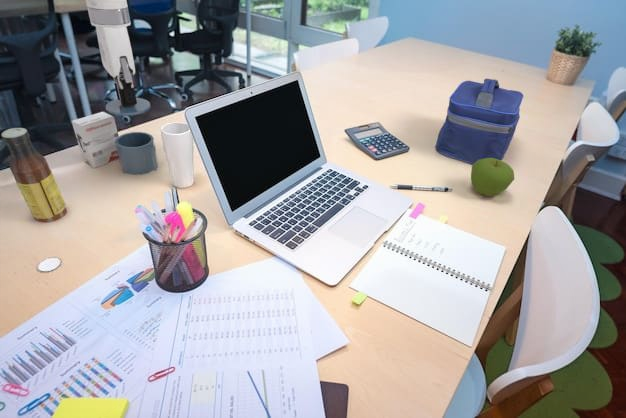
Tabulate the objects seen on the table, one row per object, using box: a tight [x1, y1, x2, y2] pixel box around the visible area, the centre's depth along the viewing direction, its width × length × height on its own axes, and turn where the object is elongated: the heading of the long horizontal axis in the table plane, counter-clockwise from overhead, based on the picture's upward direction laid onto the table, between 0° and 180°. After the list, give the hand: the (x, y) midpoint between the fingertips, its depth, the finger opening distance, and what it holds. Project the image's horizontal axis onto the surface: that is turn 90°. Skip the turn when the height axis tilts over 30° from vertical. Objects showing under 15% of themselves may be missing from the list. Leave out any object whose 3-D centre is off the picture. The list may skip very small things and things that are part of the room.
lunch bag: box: [434, 78, 524, 165], centre depth 125 cm, size 31×21×20 cm
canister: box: [115, 131, 159, 176], centre depth 99 cm, size 9×9×8 cm
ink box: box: [71, 111, 120, 169], centre depth 100 cm, size 9×5×12 cm, turn 144°
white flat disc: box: [36, 256, 63, 274], centre depth 72 cm, size 4×4×1 cm
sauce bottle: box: [1, 127, 68, 223], centre depth 78 cm, size 6×6×20 cm
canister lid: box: [105, 78, 151, 117], centre depth 90 cm, size 10×10×7 cm
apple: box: [470, 158, 515, 197], centre depth 104 cm, size 11×10×10 cm
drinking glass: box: [160, 121, 195, 189], centre depth 93 cm, size 7×7×15 cm
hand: (127, 101), depth 91 cm, fingers closed on canister lid, 3 cm apart
